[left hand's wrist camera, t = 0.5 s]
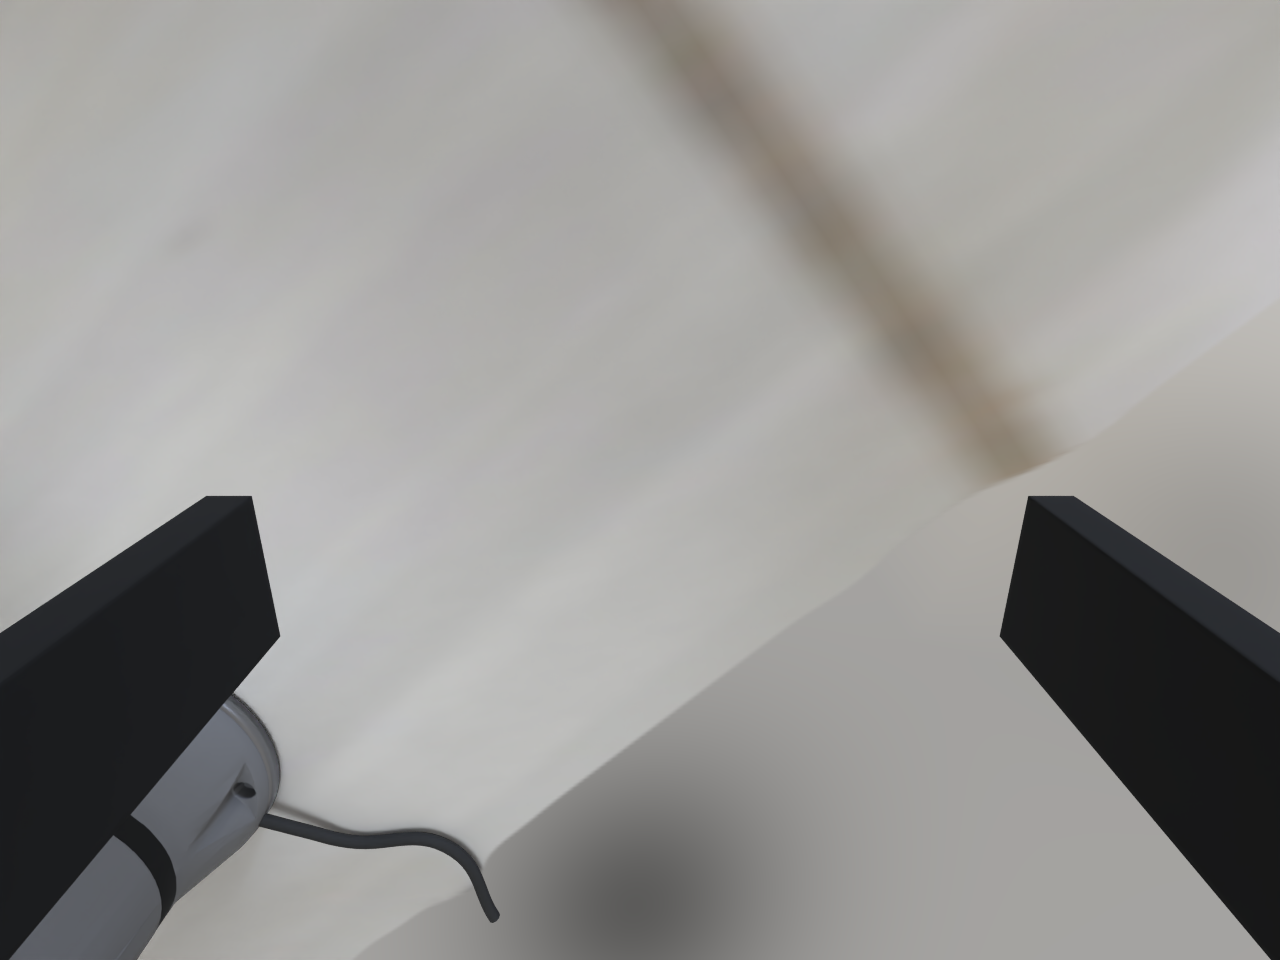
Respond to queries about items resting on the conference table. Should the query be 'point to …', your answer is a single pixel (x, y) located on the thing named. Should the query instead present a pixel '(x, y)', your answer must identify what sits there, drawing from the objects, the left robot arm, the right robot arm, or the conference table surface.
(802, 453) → the conference table surface
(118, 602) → the left robot arm
